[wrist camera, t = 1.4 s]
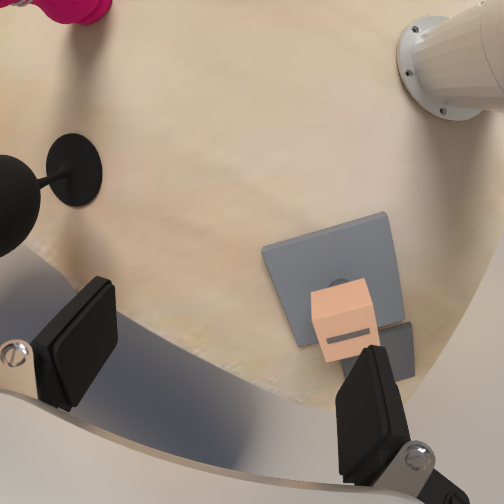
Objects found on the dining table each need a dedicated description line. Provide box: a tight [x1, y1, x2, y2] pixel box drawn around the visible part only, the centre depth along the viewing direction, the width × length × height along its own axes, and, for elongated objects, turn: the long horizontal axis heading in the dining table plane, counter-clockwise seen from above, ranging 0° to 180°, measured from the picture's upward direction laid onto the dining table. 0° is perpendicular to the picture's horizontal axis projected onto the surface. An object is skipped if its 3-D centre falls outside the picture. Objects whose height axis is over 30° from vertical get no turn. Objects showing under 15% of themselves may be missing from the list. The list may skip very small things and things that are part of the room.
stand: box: [261, 212, 405, 347], centre depth 38 cm, size 15×15×2 cm
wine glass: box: [0, 133, 102, 257], centre depth 28 cm, size 10×10×20 cm
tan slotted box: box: [311, 278, 380, 363], centre depth 32 cm, size 6×6×5 cm
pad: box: [341, 322, 415, 382], centre depth 43 cm, size 11×11×1 cm
